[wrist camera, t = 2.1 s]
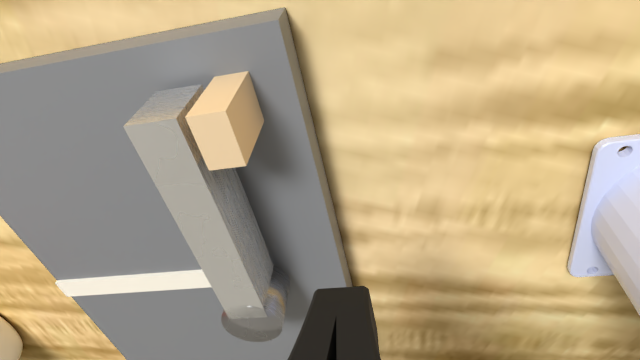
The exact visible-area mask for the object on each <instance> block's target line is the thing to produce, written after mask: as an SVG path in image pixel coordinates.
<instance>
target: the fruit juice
mask: <svg viewBox="0 0 640 360" xmlns="http://www.w3.org/2000/svg"><path fill="white" fill-rule="evenodd" d="M22 350H23V343H22V340H21V338H20V336H19V334H18V333H17V331H16V330H15V329H14V328H13V327H12V326H11V325H10V324H9V323H8V322H7V321H6V320H4V319H3V318H2V317H0V360H19V358H20V356H21V353H22Z"/></svg>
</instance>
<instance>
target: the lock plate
mask: <svg viewBox="0 0 640 360" xmlns="http://www.w3.org/2000/svg"><path fill="white" fill-rule="evenodd" d="M199 84H202V85H203V88H204V92H203V93H202V94H201V96H200V97H199V98H198V100H197V101H196V103H195V104H194V105H193V107H192V108H191V109H190V111H189V112H188V114H187V115H186V116H185V118H186V120H187V123H188V125H189V127H190V129H191V132H192V134H193V136H194V138H195V141H196V143H197V145H198V147H199V150H200V152H201V154H202V156H203V159H204V161H205V163H206V165H207V168H208V170H209V171H210V170H219V169H227V168H236V171H237V173H238V176H239V178H240V181H241V183H242V186H243V188H244V191H245V193H246V196H247V199H248V201H249V204H250V206H251V209H252V211H253V214H254V216H255V219H256V221H257V224H258V226H259V229H260V231H261V234H262V236H263V239H264V241H265V244H266V246H267V249H268V252H269V254H270V257H271V259H272V262H273V264H274V265H275V266H277V267H279V268H280V269H282V270H283V271H284V272H285V273H286V274H287V276H288V277H289V280H290V288H289V294H288V299H287V305H286V310H285V316H284V322H283V327H282V332H281V334H280V335H279V336H278V337H277V338H275V339H273V340H270V341H266V342H251V341H246V340H242V339H239V338H237V337H235V336H233V335H231V334H230V333H229V332H227V331H226V330H225V328H224V327H223V325H222V323H221V316H222V313H223V310H224V308H223V307H222V305H221V303H220V301H219V299H218V298H217V296H216V294H215V292H214V290H213V289H212V287H211V285H210V283H209V281H208V279H207V278H206V276H205V274H204V272H203V270H202V269H201V267H200V265H199V263H198V261H197V260H196V258H195V256H194V254H193V252H192V250H191V249H190V247H189V245H188V243H187V241H186V240H185V238H184V236H183V234H182V232H181V231H180V229H179V227H178V225H177V223H176V221H175V220H174V218H173V216H172V214H171V212H170V211H169V209H168V207H167V205H166V203H165V202H164V200H163V198H162V196H161V194H160V193H159V191H158V189H157V187H156V185H155V183H154V182H153V180H152V178H151V176H150V174H149V173H148V171H147V169H146V167H145V165H144V164H143V162H142V160H141V158H140V156H139V154H138V153H137V151H136V149H135V147H134V145H133V144H132V142H131V140H130V138H129V136H128V135H127V133H126V131H125V129H124V127H123V126H124V125H125V124H126V123H127V122H128V121H129V120H130V118H131V117H132V116H133V115H134V114H135V113H136V112H137V111H138V110H139V109H140V108H141V107H142V106H143V105H144V104H145V103H146V101H147V100H148V99H149V98H150V97H151V96H152V95H153V94H154V93H155V92H157V91H163V90H169V89H175V88H181V87H187V86H193V85H199ZM0 216H1V217H2V218H3V219H4V220H5V222H6V223H7V224H8V225H9V226H10V227H11V228H12V230H13V231H14V232H15V233H16V234H17V235H18V236H19V238H20V239H21V240H22V241H23V242H24V243H25V244H26V245H27V247H28V248H29V249H30V250H31V251H32V252H33V253H34V255H35V256H36V257H37V258H38V259H39V260H40V261H41V263H42V264H43V265H44V266H45V267H46V268H47V269H48V271H49V272H50V273H51V274H52V275H53V276H54V277H55V278H56V280H57V281H56V282H55V284H56V285H57V286H58V287H59V288H60V289H61V291H62V292H63V293H64V294H65V295H66V296H67V297H72V298H73V299H74V300H75V301H76V302H77V304H78V305H79V306H80V307H81V308H82V309H83V310H84V311H85V313H86V314H87V315H88V316H89V317H90V318H91V319H92V321H93V322H94V323H95V324H96V325H97V326H98V327H99V329H100V330H101V331H102V332H103V333H104V334H105V335H106V337H107V338H108V339H109V340H110V341H111V342H112V343H113V344H114V346H115V347H116V348H117V349H118V350H119V351H120V352H121V354H122V355H123V356H124V357H125V358H126V359H127V360H288V358H289V355H290V353H291V351H292V349H293V347H294V344H295V342H296V340H297V337H298V335H299V333H300V330H301V328H302V325H303V323H304V320H305V318H306V315H307V312H308V310H309V307H310V304H311V301H312V298H313V295H314V292H315V291H316V290H317V289H324V288H340V287H353V286H352V281H351V277H350V273H349V269H348V265H347V261H346V257H345V252H344V248H343V244H342V240H341V236H340V232H339V228H338V223H337V219H336V215H335V211H334V207H333V203H332V199H331V195H330V190H329V186H328V182H327V178H326V174H325V170H324V166H323V161H322V157H321V153H320V149H319V145H318V141H317V137H316V132H315V128H314V124H313V120H312V116H311V112H310V108H309V104H308V99H307V95H306V91H305V87H304V83H303V79H302V75H301V70H300V66H299V62H298V58H297V54H296V50H295V46H294V42H293V37H292V33H291V29H290V25H289V21H288V17H287V13H286V8H280V9H275V10H270V11H265V12H260V13H254V14H249V15H244V16H239V17H234V18H229V19H224V20H219V21H214V22H209V23H204V24H199V25H194V26H189V27H184V28H179V29H174V30H169V31H164V32H158V33H153V34H148V35H143V36H138V37H133V38H128V39H123V40H118V41H113V42H108V43H103V44H98V45H93V46H88V47H83V48H78V49H73V50H67V51H62V52H57V53H52V54H47V55H42V56H37V57H32V58H27V59H22V60H17V61H12V62H7V63H2V64H0Z"/></svg>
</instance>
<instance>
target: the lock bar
mask: <svg viewBox="0 0 640 360" xmlns="http://www.w3.org/2000/svg"><path fill="white" fill-rule="evenodd" d="M203 92H204V88H203V85H202V84H199V85H193V86H187V87H181V88H175V89H169V90H163V91H157V92H155V93H154V94H153V95H152V96H151V97H150V98H149V99H148V100H147V101H146V103H145V104H144V105H143V106H142V107H141V108H140V109H139V110H138V111H137V112H136V113H135V114H134V115H133V116H132V117H131V118H130V120H129V121H128V122H127V123H126V124H125V125H124V126H123V127H124V129H125V131H126V133H127V135H128V136H129V138H130V140H131V142H132V144H133V145H134V147H135V149H136V151H137V153H138V154H139V156H140V158H141V160H142V162H143V164H144V165H145V167H146V169H147V171H148V173H149V174H150V176H151V178H152V180H153V182H154V183H155V185H156V187H157V189H158V191H159V193H160V194H161V196H162V198H163V200H164V202H165V203H166V205H167V207H168V209H169V211H170V212H171V214H172V216H173V218H174V220H175V221H176V223H177V225H178V227H179V229H180V231H181V232H182V234H183V236H184V238H185V240H186V241H187V243H188V245H189V247H190V249H191V250H192V252H193V254H194V256H195V258H196V260H197V261H198V263H199V265H200V267H201V269H202V270H203V272H204V274H205V276H206V278H207V279H208V281H209V283H210V285H211V287H212V289H213V290H214V292H215V294H216V296H217V298H218V299H219V301H220V303H221V305H222V307H223V308H224V310H223V313H222V316H221V323H222V325H223V327H224V328H225V330H226V331H227V332H229V333H230V334H231V335H233V336H235V337H237V338H239V339H242V340H246V341H251V342H266V341H270V340H273V339H275V338H277V337H278V336H279V335H280V334H281V332H282V327H283V322H284V316H285V310H286V305H287V299H288V294H289V288H290V280H289V277H288V276H287V274H286V273H285V272H284V271H283V270H282V269H280V268H279V267H277V266H275V265H274V264H273V262H272V259H271V257H270V254H269V252H268V249H267V246H266V244H265V241H264V239H263V236H262V234H261V231H260V229H259V226H258V224H257V221H256V219H255V216H254V214H253V211H252V209H251V206H250V204H249V201H248V199H247V196H246V193H245V191H244V188H243V186H242V183H241V181H240V178H239V176H238V173H237V171H236V168H227V169H219V170H210V171H209V170H208V168H207V165H206V163H205V161H204V159H203V156H202V154H201V152H200V150H199V147H198V145H197V143H196V141H195V138H194V136H193V134H192V132H191V129H190V127H189V125H188V123H187V120H186V118H185V116H186V115H187V114H188V112H189V111H190V109H191V108H192V107H193V105H194V104H195V103H196V101H197V100H198V98H199V97H200V96H201V94H202V93H203Z"/></svg>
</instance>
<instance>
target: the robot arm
mask: <svg viewBox="0 0 640 360" xmlns="http://www.w3.org/2000/svg"><path fill="white" fill-rule="evenodd" d="M624 146H627V147H626V148H625V149H624V150H622V151H619V149H620V148H622V147H624ZM618 151H619V152H618ZM567 268H568V270H569V272H570V274H571V275H572V276H575V277H588V276H605V275H615V277H616V278H617V280H618V282H619V283H620V285H621V287H622V288H623V290H624V291H625V293H626V295H627V296H628V298H629V300H630V301H631V303H632V304H633V306H634V308H635V309H636V311H637V313H638V314H639V316H640V134H636V135H628V136H619V137H611V138H606V139H603V140H601V141H599V142H598V143H597V144H596V145H595V147H594V149H593V152H592V156H591V161H590V166H589V170H588V175H587V179H586V184H585V188H584V193H583V197H582V202H581V207H580V211H579V216H578V220H577V225H576V229H575V234H574V238H573V243H572V247H571V252H570V257H569V261H568V266H567ZM288 360H381V358H380V354H379V346H378V336H377V327H376V322H375V318H374V313H373V308H372V303H371V298H370V294H369V289H368V288H366V287H364V286H356V287H340V288H324V289H317V290H316V291H315V292H314V295H313V298H312V301H311V304H310V307H309V310H308V312H307V315H306V318H305V320H304V323H303V325H302V328H301V330H300V333H299V335H298V337H297V340H296V342H295V344H294V347H293V349H292V351H291V353H290V355H289V358H288Z"/></svg>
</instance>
